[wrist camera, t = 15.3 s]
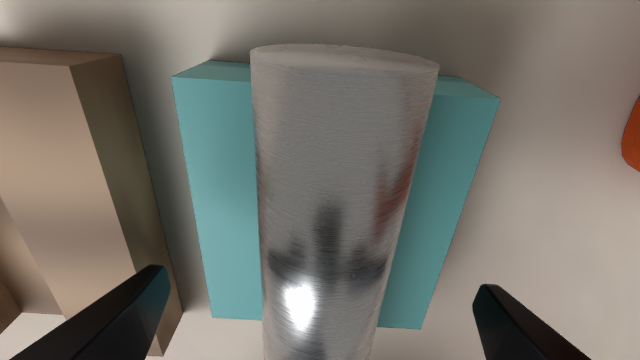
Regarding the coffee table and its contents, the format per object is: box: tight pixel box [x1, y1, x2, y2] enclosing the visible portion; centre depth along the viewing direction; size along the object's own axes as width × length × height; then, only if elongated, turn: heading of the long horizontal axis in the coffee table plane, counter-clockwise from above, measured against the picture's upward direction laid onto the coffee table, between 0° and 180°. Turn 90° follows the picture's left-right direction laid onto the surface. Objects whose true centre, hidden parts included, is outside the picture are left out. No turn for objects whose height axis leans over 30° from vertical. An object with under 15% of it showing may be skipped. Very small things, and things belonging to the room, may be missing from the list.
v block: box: [171, 60, 501, 329], centre depth 12 cm, size 10×9×3 cm
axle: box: [250, 44, 440, 360], centre depth 10 cm, size 14×4×4 cm, turn 176°
